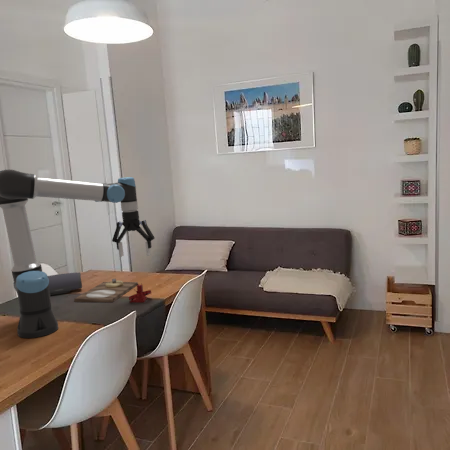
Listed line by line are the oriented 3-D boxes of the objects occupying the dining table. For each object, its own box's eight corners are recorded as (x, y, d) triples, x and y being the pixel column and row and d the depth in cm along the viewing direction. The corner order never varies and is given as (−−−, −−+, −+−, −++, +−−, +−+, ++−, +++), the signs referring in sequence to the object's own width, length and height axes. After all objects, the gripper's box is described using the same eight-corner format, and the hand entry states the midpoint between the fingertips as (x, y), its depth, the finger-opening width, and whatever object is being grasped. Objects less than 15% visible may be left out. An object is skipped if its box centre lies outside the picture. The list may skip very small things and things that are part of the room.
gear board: (112, 302, 212) (111, 292, 212) (74, 301, 217) (73, 291, 216) (137, 284, 241) (137, 275, 241) (103, 284, 246) (102, 275, 245)
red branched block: (143, 295, 221) (142, 279, 220) (156, 300, 212) (154, 283, 210) (123, 300, 214) (122, 283, 213) (135, 306, 205) (133, 288, 204)
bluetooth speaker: (81, 287, 242) (79, 269, 241) (82, 292, 234) (80, 273, 232) (36, 294, 234) (33, 275, 233) (35, 299, 226) (33, 279, 224)
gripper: (158, 208, 208) (163, 252, 211) (108, 211, 213) (114, 254, 216) (152, 210, 201) (157, 256, 204) (101, 213, 206) (107, 258, 209)
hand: (135, 255), depth 210 cm, fingers open, 13 cm apart
